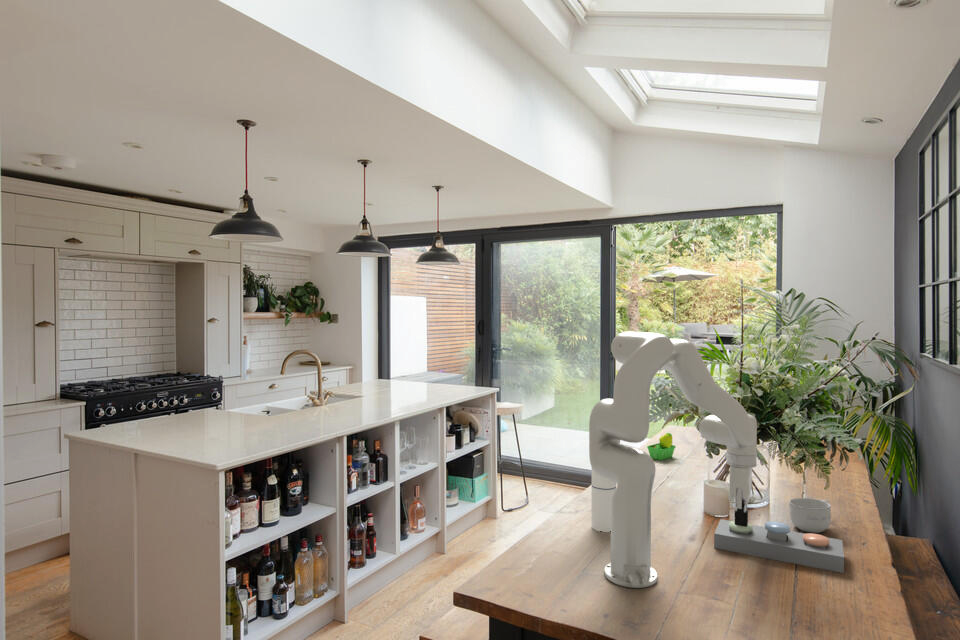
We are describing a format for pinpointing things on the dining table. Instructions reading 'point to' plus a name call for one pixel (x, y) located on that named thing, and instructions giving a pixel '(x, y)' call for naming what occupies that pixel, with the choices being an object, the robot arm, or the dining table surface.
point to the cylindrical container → (601, 502)
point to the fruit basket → (662, 448)
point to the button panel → (780, 547)
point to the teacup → (810, 514)
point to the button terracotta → (816, 540)
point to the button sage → (740, 528)
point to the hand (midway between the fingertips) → (741, 524)
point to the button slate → (777, 530)
